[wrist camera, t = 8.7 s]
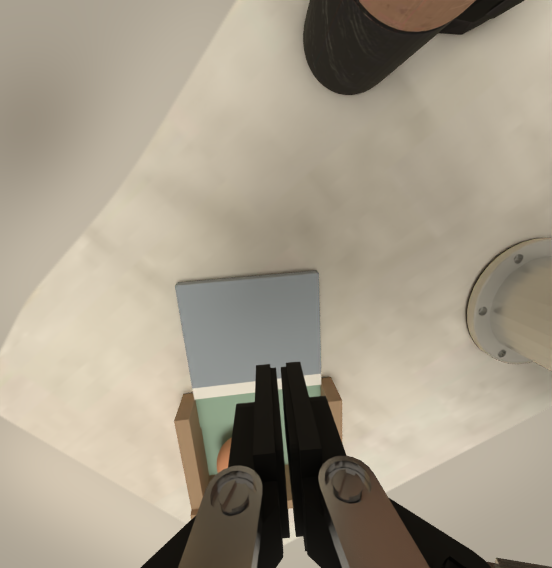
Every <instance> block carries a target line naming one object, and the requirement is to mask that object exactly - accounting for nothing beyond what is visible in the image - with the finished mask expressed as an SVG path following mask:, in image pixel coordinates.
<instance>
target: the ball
mask: <svg viewBox="0 0 552 568" xmlns="http://www.w3.org/2000/svg"><path fill="white" fill-rule="evenodd" d="M231 439H232V438H230V439H228V440H227V441H226V442H225V443H224V444H223V445H222V447H221V449H220V451H219V453H218V457H217V472H218V473H219V472H220V471H222V470H223V469H226V468H228V463H229V455H230V447H231Z"/></svg>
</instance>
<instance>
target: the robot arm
mask: <svg viewBox="0 0 552 568" xmlns="http://www.w3.org/2000/svg"><path fill="white" fill-rule="evenodd" d="M467 324H468V328H469V332H470V335H471V337H472V339H473V341H474V342H475V344H476V345H477V346H478V347H479V348H480V349H481V350H482V351H484V352H485V353H486V354H488V355H489V356H491V357H493V358H495V359H496V360H499V361H502V362H506V363H512V364H522V363H530V362H533V361H534V362H535V363H537V364H539V365H541V366H543V367H545V368H547V369H548V370H550V371H552V239H550V238H541V239H532V240H529V241H525V242H522V243H520V244H518V245H516V246H513V247H511V248H509V249H508V250H507V251H505V252H504V253H502V254H501V255H499V256H498V257H497V258H496V259H495V260H494V261H493V262H492V263H491V264H490V265H489V266H488V267H487V268H486V269H485V271H484V272H483V273H482V275H481V276H480V277H479V279H478V281H477V283H476V285H475V286H474V288H473V291H472V294H471V296H470V299H469V304H468V310H467ZM281 381H282V395H283V410H284V425H285V436H286V446H287V455H288V465H289V475H290V484H291V494H292V503H293V513H294V522H295V532H296V537H300V536H303V537H304V545H305V551H307V554H308V556H309V557H310V558H311V559H313V560H314V561H315V562H316V563H317V564H318V565H319V566H320V567H321V568H552V567H549V566H543V565H537V564H531V563H525V562H519V561H513V560H507V559H501V558H496V560H495V563H491V562H486V561H485V560H484V559H482V558H481V557H480V556H479V555H477V554H476V553H475V552H473V551H472V550H470V549H469V548H467V547H466V546H464V545H462V544H461V543H459V542H458V541H456V540H455V539H453V538H451V537H450V536H448V535H447V534H445V533H444V532H442V531H440V530H439V529H437V528H436V527H434V526H432V525H431V524H429V523H428V522H426V521H425V520H423V519H421V518H420V517H418V516H416V515H415V514H413V513H412V512H410V511H409V510H407V509H406V508H404V507H403V506H401V505H399V504H397V503H396V502H395V501H393V500H391V499H390V498H388V496H387V495H386V493H385V491H384V490H383V488H382V486H381V485H380V483H379V481H378V480H377V478H376V476H375V475H374V473H373V472H372V471H371V469H370V468H369V467H368V466H367V465H366V464H364V463H363V462H362V461H360V460H358V459H356V458H354V457H349V456H346V453H345V450H344V447H343V444H342V441H341V438H340V435H339V433H338V430H337V427H336V424H335V421H334V418H333V415H332V412H331V409H330V406H329V403H328V400H327V398H326V396H316V397H309V395H308V391H307V387H306V383H305V379H304V375H303V371H302V367H301V363H300V362H288V363H286V367H281ZM282 538H290V531H289V517H288V503H287V489H286V475H285V461H284V449H283V437H282V426H281V415H280V404H279V394H278V383H277V372H276V367H275V368H271V367H270V364H264V365H256V379H255V402H248V403H237V404H236V409H235V416H234V424H233V432H232V439H231V447H230V455H229V463H228V468H226V469H223V470H222V471H220V472H219V473H218V474H216V475H215V476H214V477H213V478H212V480H211V481H210V482H209V484H208V486H207V488H206V490H205V492H204V495H203V498H202V501H201V504H200V507H199V510H198V512H197V515H196V516H195V517H194V518H193V519H192V520H191V521H189V522H188V523H187V524H186V525H185V526H184V527H183V528H182V529H181V530H180V531H179V532H178V533H177V534H176V535H175V536H174V537H173V538H172V539H170V540H169V541H168V542H167V543H166V544H165V545H164V546H163V547H162V548H161V549H160V550H159V551H158V552H157V553H156V554H155V555H153V556H152V557H151V558H150V559H149V560H148V561H147V562H146V563H145V564H144V565H143V566H142V567H141V568H276V567H277V565H278V564H279V563H280V561H281V560H282V558H283V541H282Z"/></svg>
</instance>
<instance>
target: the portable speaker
mask: <svg viewBox="0 0 552 568" xmlns="http://www.w3.org/2000/svg"><path fill="white" fill-rule="evenodd" d="M522 1H524V0H476V1H475V2H473V3H472V4H471V5H470V6H469V7H468V8H467V9H466V10H465V11H463V12H462V13H461V14H460V15H459V16H458V17H456V18H455V19H454V20H453V21H452V22H451V23H449V24H448V25H447V26H446V27H445V28H443V29H442V30H441V31H440V32H439V33H450V34H464V33H466V32H467V31H469V30H471V29H473V28H475V27H477V26H479V25H480V24H482V23H484V22H485V21H487V20H489V19H492V18H495V17H497V16H498V15H500V14H502V13H504V12H505V11H507V10H509V9H510V8H512V7H514V6H516V5H517V4H519V3H521V2H522Z"/></svg>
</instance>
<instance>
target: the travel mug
mask: <svg viewBox="0 0 552 568" xmlns="http://www.w3.org/2000/svg"><path fill="white" fill-rule="evenodd" d="M475 1H476V0H310V3H309V7H308V11H307V15H306V20H305V25H304V33H303V42H304V50H305V55H306V59H307V62H308V64H309V66H310V69H311V71H312V72H313V74H314V75H315V77H316V78H317V79H318V80H319V82H321V83H322V84H323V85H324V86H325V87H327V88H328V89H330V90H332V91H334V92H336V93H339V94H345V95H353V94H359V93H362V92H365V91H367V90H369V89H371V88H372V87H374V86H375V85H377V84H378V83H379V82H381V81H382V80H383V79H384V78H385V77H387V76H388V75H389V74H390V73H391V72H393V71H394V70H395V69H396V68H397V67H398V66H400V65H401V64H402V63H403V62H404V61H406V60H407V59H408V58H409V57H410V56H411V55H413V54H414V53H415V52H416V51H417V50H419V49H420V48H421V47H422V46H423V45H425V44H426V43H427V42H428V41H429V40H430V39H432V38H433V37H434V36H435V35H436V34H438V33H439V32H440V31H441V30H442V29H443V28H445V27H446V26H447V25H448V24H449V23H451V22H452V21H453V20H454V19H455V18H456V17H458V16H459V15H460V14H461V13H462V12H463V11H465V10H466V9H467V8H468V7H469V6H470V5H471V4H472V3H473V2H475Z"/></svg>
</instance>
